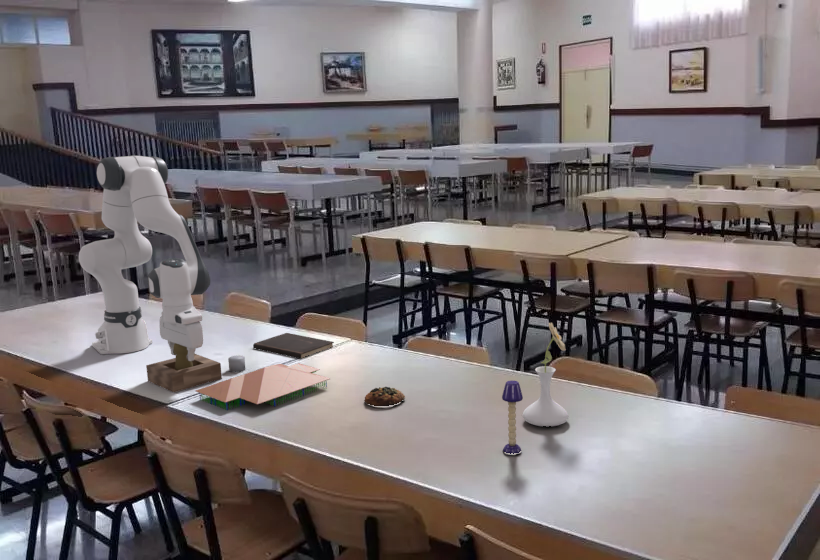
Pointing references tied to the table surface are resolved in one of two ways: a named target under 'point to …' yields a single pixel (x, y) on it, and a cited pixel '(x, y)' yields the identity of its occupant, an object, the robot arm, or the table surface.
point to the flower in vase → (546, 394)
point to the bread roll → (384, 396)
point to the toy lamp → (512, 413)
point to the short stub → (236, 363)
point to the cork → (181, 357)
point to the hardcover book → (293, 345)
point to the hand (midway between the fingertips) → (182, 357)
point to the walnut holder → (183, 373)
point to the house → (264, 384)
